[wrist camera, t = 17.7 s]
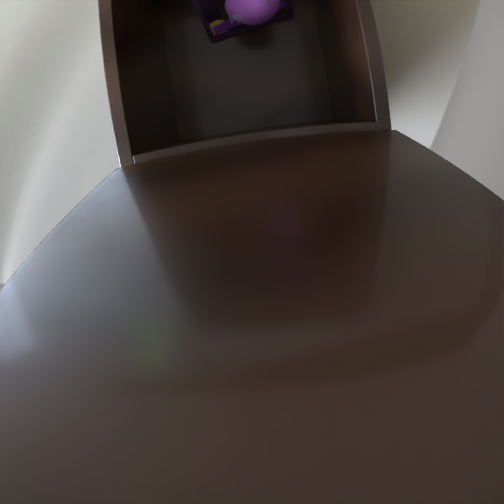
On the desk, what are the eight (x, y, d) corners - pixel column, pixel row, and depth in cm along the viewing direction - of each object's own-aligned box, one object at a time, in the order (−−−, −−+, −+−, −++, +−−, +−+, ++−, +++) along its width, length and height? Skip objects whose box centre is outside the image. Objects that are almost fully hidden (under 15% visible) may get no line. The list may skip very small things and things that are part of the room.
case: (151, -12, 19) (97, -66, 9) (310, -37, 18) (334, -106, 8) (175, 152, 25) (121, 174, 15) (341, 129, 24) (392, 137, 14)
